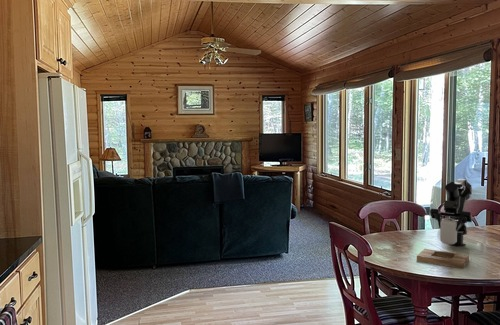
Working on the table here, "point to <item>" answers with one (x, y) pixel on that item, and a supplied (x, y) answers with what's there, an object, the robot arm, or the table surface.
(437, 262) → the pocket board
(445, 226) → the can
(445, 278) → the table surface
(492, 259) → the table surface
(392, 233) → the table surface
